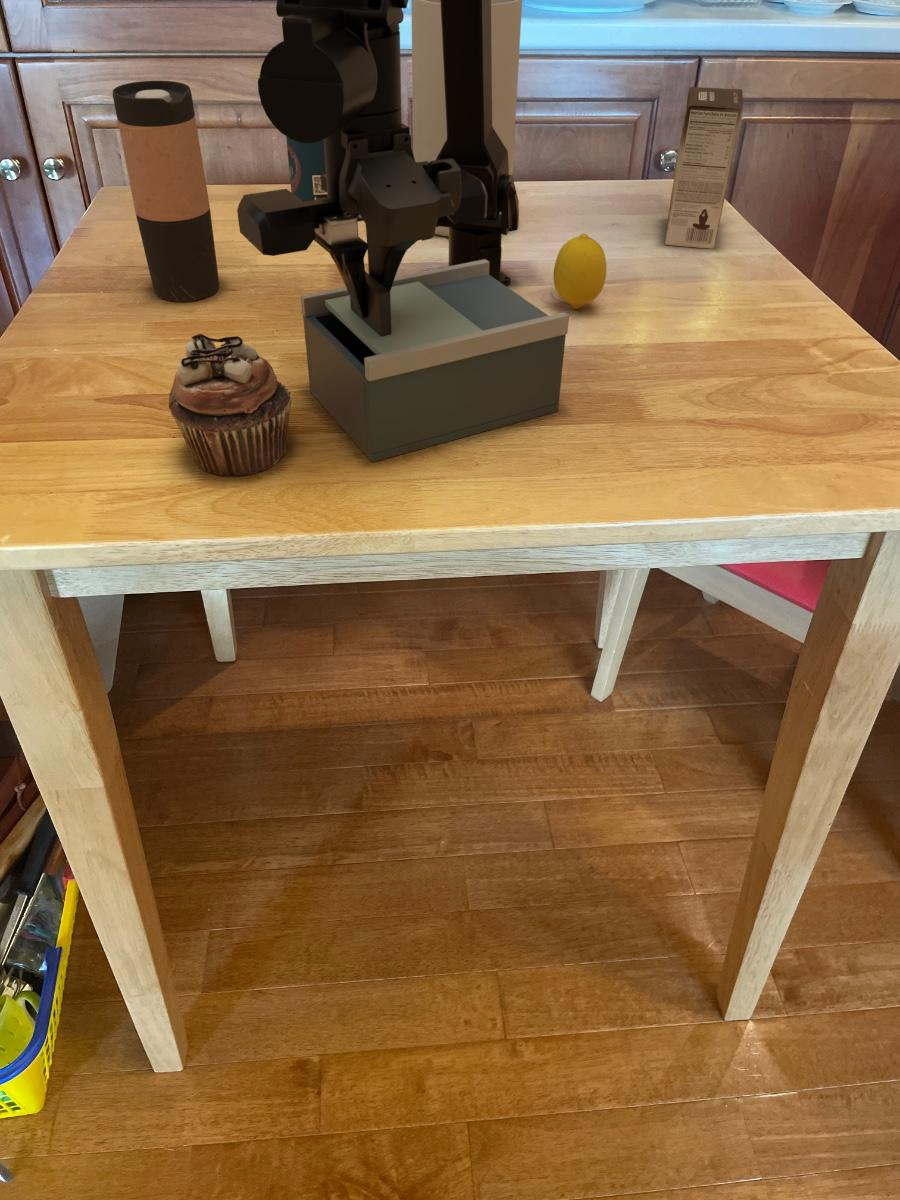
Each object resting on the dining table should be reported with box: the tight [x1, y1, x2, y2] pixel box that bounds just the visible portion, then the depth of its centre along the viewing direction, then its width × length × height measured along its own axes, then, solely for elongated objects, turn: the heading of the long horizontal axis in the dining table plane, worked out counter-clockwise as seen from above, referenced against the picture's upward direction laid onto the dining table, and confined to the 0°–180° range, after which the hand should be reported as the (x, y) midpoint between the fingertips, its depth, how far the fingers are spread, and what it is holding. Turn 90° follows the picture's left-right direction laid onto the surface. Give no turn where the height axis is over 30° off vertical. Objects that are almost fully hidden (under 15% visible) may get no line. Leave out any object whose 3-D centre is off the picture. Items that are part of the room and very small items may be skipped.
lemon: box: [553, 233, 607, 310], centre depth 98 cm, size 6×6×8 cm
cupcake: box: [168, 333, 292, 477], centre depth 75 cm, size 10×10×10 cm
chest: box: [299, 259, 570, 463], centre depth 82 cm, size 14×19×9 cm
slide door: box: [325, 270, 482, 355], centre depth 77 cm, size 12×9×4 cm
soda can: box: [285, 136, 328, 202], centre depth 119 cm, size 7×7×12 cm
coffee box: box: [664, 86, 744, 250], centre depth 113 cm, size 9×6×16 cm
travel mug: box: [112, 80, 220, 303], centre depth 97 cm, size 8×8×20 cm
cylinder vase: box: [410, 0, 523, 238], centre depth 112 cm, size 12×12×25 cm
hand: (370, 314), depth 76 cm, fingers closed on slide door
